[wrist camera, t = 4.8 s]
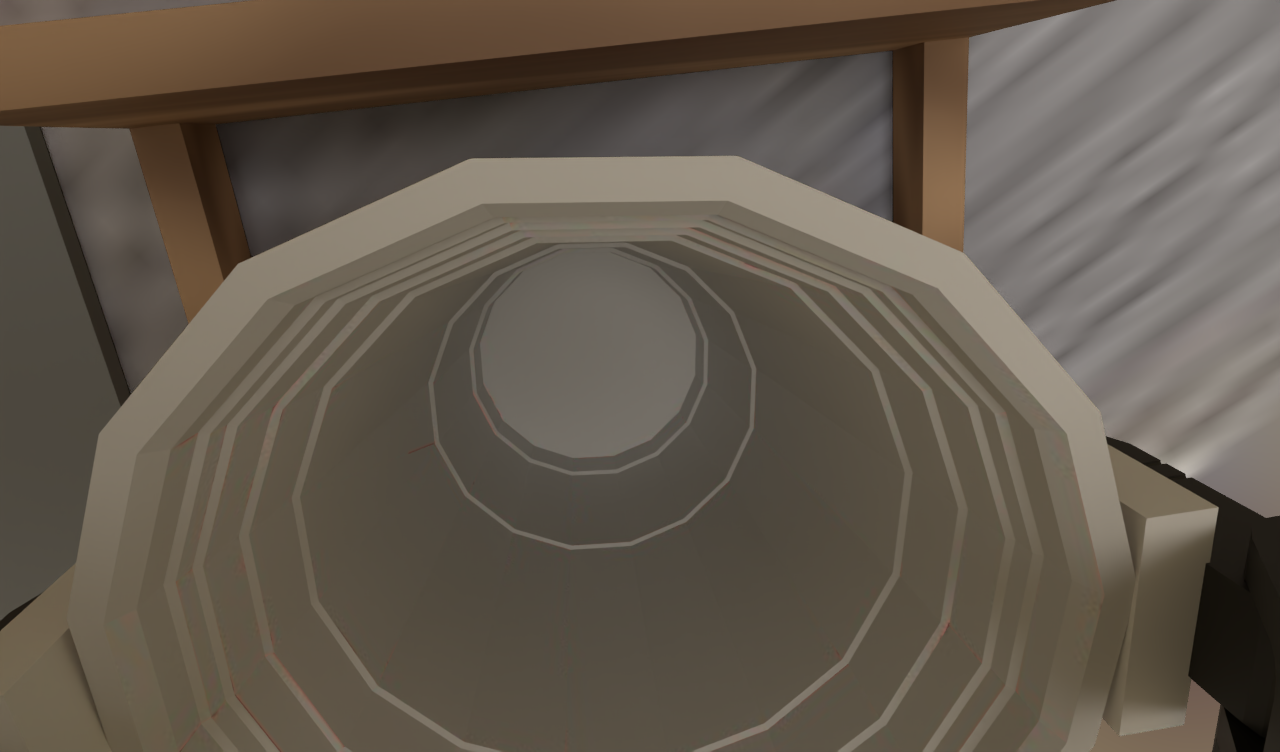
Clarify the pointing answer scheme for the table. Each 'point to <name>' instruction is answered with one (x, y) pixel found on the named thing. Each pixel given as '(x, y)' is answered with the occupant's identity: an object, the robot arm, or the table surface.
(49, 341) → the mat
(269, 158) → the table surface
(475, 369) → the plastic cup
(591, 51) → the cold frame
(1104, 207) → the table surface
